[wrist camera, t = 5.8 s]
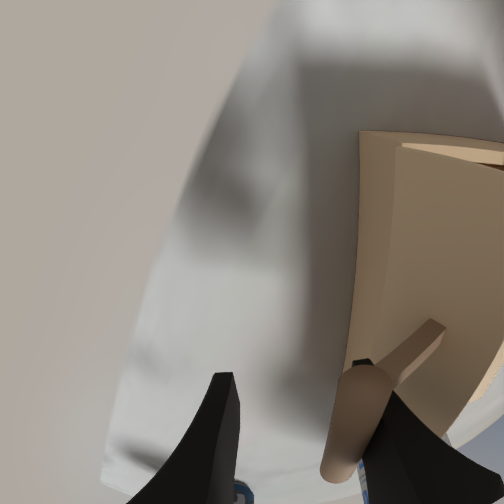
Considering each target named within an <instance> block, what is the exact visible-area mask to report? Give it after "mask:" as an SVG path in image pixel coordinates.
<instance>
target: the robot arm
mask: <svg viewBox="0 0 504 504" xmlns="http://www.w3.org/2000/svg"><path fill="white" fill-rule="evenodd" d="M358 365H372V366H374V364H373V363H372V361H371V360H370V359H369V358H366V359H360V360H353V361H352V366H351V368H352V367H354V366H358ZM239 432H240V401H239V397H238V393H237V389H236V384H235V380H234V376H233V372H220V373H215V374H214V375H213V377H212V380H211V383H210V385H209V388H208V390H207V392H206V395H205V397H204V399H203V401H202V403H201V406H200V407H199V409H198V411H197V413H196V415H195V417H194V419H193V421H192V423H191V425H190V426H189V428H188V430H187V431H186V433H185V435H184V436H183V438H182V439H181V441H180V443H179V444H178V446H177V447H176V449H175V450H174V452H173V453H172V454H171V456H170V457H169V458H168V460H167V461H166V462H165V464H164V465H163V466H162V467H161V469H160V470H159V471H158V472H157V473H156V474H155V476H154V477H153V478H152V479H151V480H150V481H149V482H148V483H147V484H146V485H145V486H144V487H143V488H142V489H141V490H140V491H139V492H138V493H137V494H136V495H135V496H134V497H133V498H132V499H131V500H130V501H129V502H128V503H126V504H234V475H235V467H236V458H237V450H238V441H239ZM362 461H363V465H364V470H365V476H366V483H367V491H368V500H369V504H492V503H494V502H495V501H497V500H499V499H500V498H502V497H503V496H504V484H503V481H502V479H501V476H500V475H499V474H497V473H495V472H493V471H491V470H488V469H486V468H485V467H483V466H481V465H479V464H477V463H475V462H474V461H472V460H470V459H469V458H467V457H466V456H464V455H463V454H461V453H459V452H458V451H457V450H455V449H454V448H453V447H451V446H450V445H448V444H447V443H446V442H445V441H443V440H442V439H441V438H440V437H438V436H437V435H436V434H435V433H434V432H433V431H432V430H430V429H429V428H428V427H427V426H426V425H425V424H424V423H423V422H422V421H421V420H420V419H419V418H418V417H417V416H416V415H415V414H414V413H413V412H412V411H411V410H410V409H409V407H408V406H407V405H406V404H405V403H404V402H403V401H402V399H401V398H400V397H399V396H398V395H397V394H396V392H395V391H394V390H393V391H392V393H391V396H390V398H389V401H388V403H387V405H386V408H385V410H384V412H383V415H382V417H381V419H380V421H379V424H378V426H377V428H376V430H375V432H374V434H373V436H372V438H371V440H370V442H369V444H368V446H367V448H366V450H365V452H364V454H363V456H362Z"/></svg>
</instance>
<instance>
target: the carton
mask: <svg viewBox="0 0 504 504" xmlns="http://www.w3.org/2000/svg"><path fill="white" fill-rule="evenodd" d="M395 147H408V148H413V149H418V150H423V151H428V152H433V153H438V154H442V155H446V156H451V157H455V158H459V159H463V160H467V161H471V162H474V163H478V164H482V165H485V166H489V167H492V168H496V169H499V170H502V171H504V143H499V142H493V141H486V140H479V139H472V138H465V137H456V136H447V135H437V134H425V133H410V132H390V131H359V155H360V191H359V224H358V244H357V259H356V271H355V283H354V293H353V302H352V311H351V319H350V327H349V334H348V341H347V348H346V355H345V361H344V367H343V373H344V372H345V371H346V370H348V369H349V368H351V366H352V361H353V360H360V359H366V358H369V359H370V356H371V352H372V348H373V343H374V339H375V334H376V329H377V324H378V319H379V314H380V309H381V303H382V297H383V291H384V285H385V278H386V271H387V264H388V256H389V248H390V238H391V228H392V217H393V203H394V184H395ZM503 362H504V342H503V344H502V346H501V347H500V349H499V351H498V353H497V355H496V357H495V359H494V361H493V362H492V364H491V366H490V368H489V370H488V371H487V373H486V375H485V376H484V378H483V380H482V381H481V383H480V385H479V386H478V388H477V389H476V391H475V393H474V394H473V396H472V397H471V399H470V400H469V402H468V403H470V402H472V401H475V400H477V399H479V398H481V397H482V396H483V394H484V393H485V391H486V390H487V388H488V387H489V385H490V384H491V382H492V380H493V379H494V377H495V375H496V374H497V372H498V371H499V369H500V367H501V365H502V364H503ZM343 373H342V374H343Z"/></svg>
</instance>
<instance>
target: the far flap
mask: <svg viewBox="0 0 504 504" xmlns="http://www.w3.org/2000/svg"><path fill="white" fill-rule="evenodd" d="M503 342H504V171H502V170H499V169H496V168H492V167H489V166H485V165H482V164H478V163H474V162H471V161H467V160H463V159H459V158H455V157H451V156H446V155H442V154H438V153H433V152H428V151H423V150H418V149H413V148H408V147H395V184H394V203H393V217H392V228H391V238H390V248H389V256H388V264H387V271H386V278H385V285H384V291H383V297H382V303H381V309H380V314H379V319H378V324H377V329H376V334H375V339H374V343H373V348H372V352H371V356H370V360H371V361H372V363H373V364H374V366H372V365H358V366H354V367H352V368H349V369H348V370H346V371H345V372H344V373H343V374H342V375H341V377H340V379H339V382H338V388H337V394H336V399H335V404H334V409H333V414H332V419H331V424H330V428H329V433H328V437H327V442H326V446H325V450H324V454H323V458H322V462H321V466H320V474H321V476H322V478H323V479H324V480H326V481H327V482H330V483H342V482H345V481H347V480H348V479H349V478H350V477H351V476H352V474H353V473H354V471H355V469H356V467H357V466H358V464H359V462H360V460H362V456H363V454H364V452H365V450H366V448H367V446H368V444H369V442H370V440H371V438H372V436H373V434H374V432H375V430H376V428H377V426H378V424H379V421H380V419H381V417H382V415H383V412H384V410H385V408H386V405H387V403H388V401H389V398H390V396H391V393H392V391H393V390H394V391H395V392H396V394H397V395H398V396H399V397H400V398H401V399H402V401H403V402H404V403H405V404H406V405H407V406H408V407H409V409H410V410H411V411H412V412H413V413H414V414H415V415H416V416H417V417H418V418H419V419H420V420H421V421H422V422H423V423H424V424H425V425H426V426H427V427H428V428H429V429H430V430H432V431H433V432H434V433H435V434H436V435H437V436H438V437H440V438H442V437H443V436H444V435H445V433H446V432H447V431H448V429H449V428H450V427H451V426H452V424H453V423H454V422H455V420H456V419H457V417H458V416H459V415H460V413H461V412H462V410H463V409H464V408H465V406H466V405H467V403H468V402H469V400H470V399H471V397H472V396H473V394H474V393H475V391H476V389H477V388H478V386H479V385H480V383H481V381H482V380H483V378H484V376H485V375H486V373H487V371H488V370H489V368H490V366H491V364H492V362H493V361H494V359H495V357H496V355H497V353H498V351H499V349H500V347H501V346H502V344H503Z"/></svg>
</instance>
